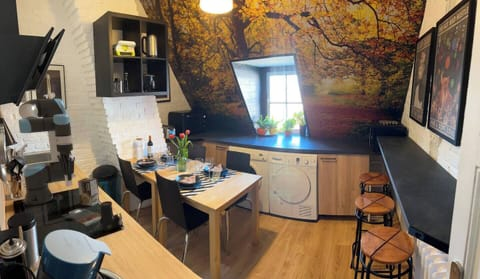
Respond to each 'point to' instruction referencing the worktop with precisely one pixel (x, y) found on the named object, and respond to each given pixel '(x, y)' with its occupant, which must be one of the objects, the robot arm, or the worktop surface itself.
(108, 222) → the scope
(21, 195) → the worktop surface
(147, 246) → the worktop surface
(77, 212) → the block
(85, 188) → the coffee box
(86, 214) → the panel
